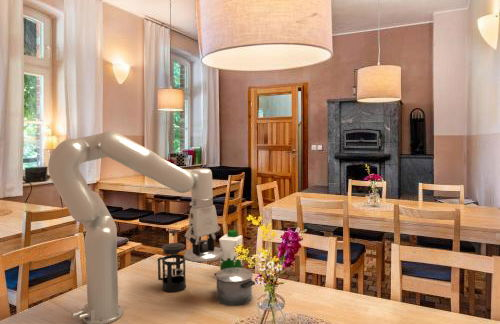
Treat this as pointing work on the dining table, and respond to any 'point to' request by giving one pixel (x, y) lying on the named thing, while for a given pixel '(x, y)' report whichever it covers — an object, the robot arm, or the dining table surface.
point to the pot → (234, 286)
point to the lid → (203, 253)
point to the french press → (172, 273)
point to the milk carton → (230, 250)
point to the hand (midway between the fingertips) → (203, 251)
